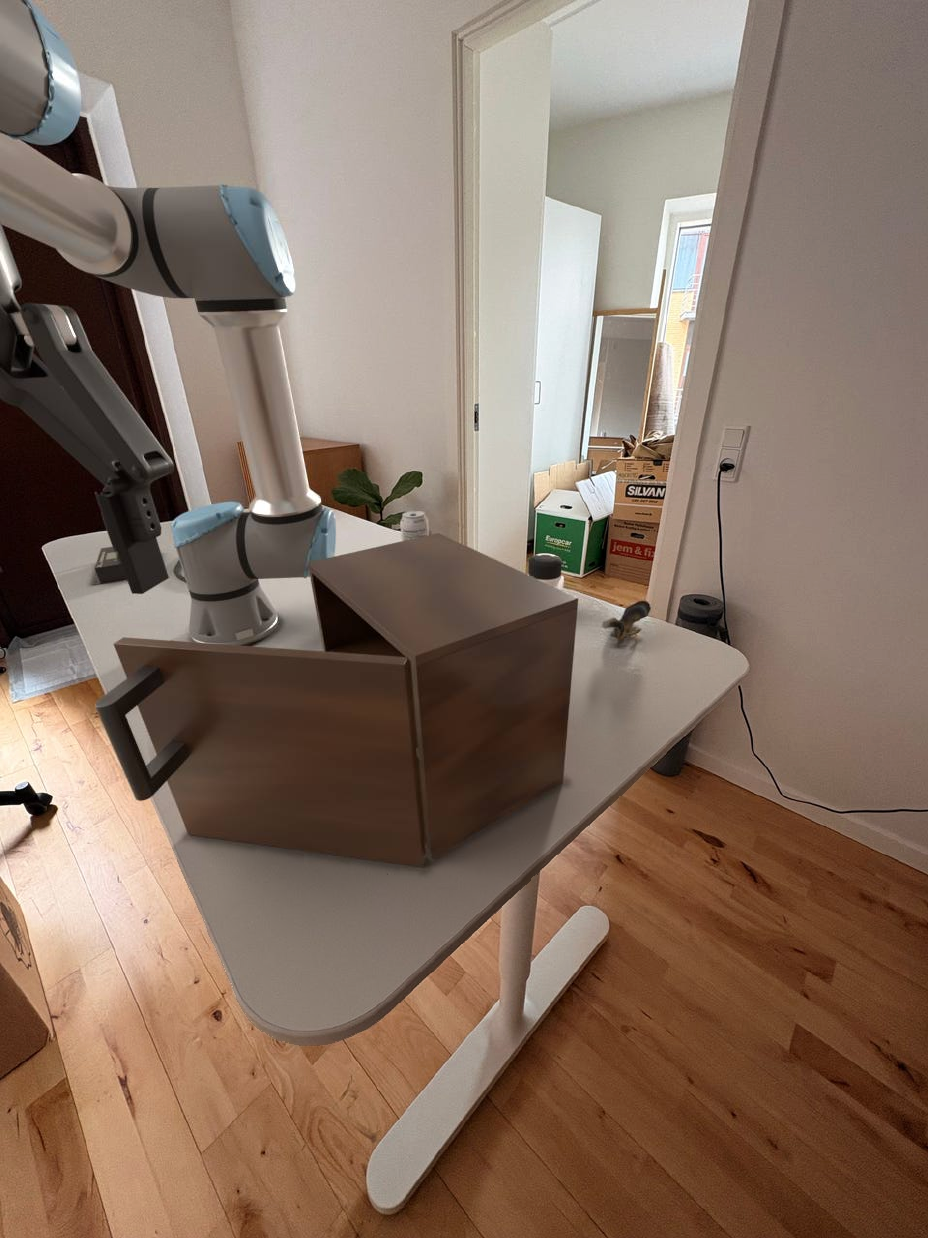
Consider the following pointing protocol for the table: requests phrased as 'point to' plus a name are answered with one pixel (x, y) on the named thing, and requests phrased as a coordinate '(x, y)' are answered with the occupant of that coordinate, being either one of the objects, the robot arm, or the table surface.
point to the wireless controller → (108, 561)
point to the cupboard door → (275, 745)
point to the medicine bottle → (547, 569)
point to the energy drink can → (414, 525)
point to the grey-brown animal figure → (628, 621)
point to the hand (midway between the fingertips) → (63, 582)
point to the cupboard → (461, 670)
